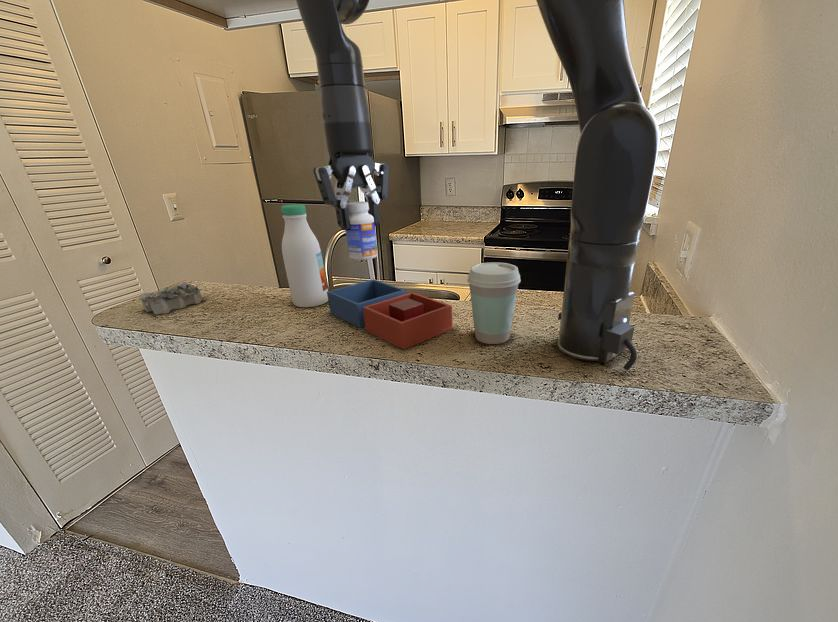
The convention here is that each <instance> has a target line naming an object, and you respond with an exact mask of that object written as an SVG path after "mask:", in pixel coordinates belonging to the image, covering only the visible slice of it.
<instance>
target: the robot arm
mask: <svg viewBox="0 0 838 622" xmlns="http://www.w3.org/2000/svg"><path fill="white" fill-rule="evenodd" d="M535 1H536V3H537V4H536V5H537V8H538V11H539V14H540V16H541V19H542V21H543V25H544V27H545V29H546V31H547V34H548V37H549V39H550V40H551V44H552V45H553V48H554V51H555V53H556V55H557V57H558V59H559V62H560V63H561V66H562V68H563V70H564V72H565V75H566V78H567V80H568V83H569V86H570V88H571V93H572V96H573V100H574V101H573V102H574V105H575V111H576V115H577V120H578V126H579V134H580V136H579V139H578V142H577V146H576V147H577V148H576V155H575V165H574V172H573V185H572V194H571V195H572V196H571V205H570V230H569V231H570V232H569V240H568V250H567V259H566V267H565V277H564V283H563V284H564V286H563V295H562V303H561V311H560V312H559V313H558V315H557V316H558V317H557V321H560V323H559V331H558V339H557V345H556V346H557V348H558V350H559V351H560V352H561V353H563V354H564V355H566V356H568V357H570V358H573V359H578V360H581V361H588V362H589V361H590V362H599V363H602V364H607V363H608V362H609V361H611V360H612V359H614V358H616V357H617V356H618V355H620V354H621V353H623V352H624V351H625V350H626V349H628V351H629V353H630V358H629V359H628V361H627V362H626V363H625V364H624V365H623V369H624V370H625V371H630V369H631V368H632V366H633V365H634V364H635V363H636V361H637V359H638V353H637V350H636V348H635V346H634V344H633V343H632V342H633V336H634V331H635V325H632V324H630V321H631V316H632V310H633V306H634V301H635V295H636V294H635V292H634V291H631V286H632V282H633V281H632V280H633V276H634V270H635V265H636V261H637V254H638V250H639V243H640V239H641V235H642V229H643V225H644V223H645V222H644V221H645V220H646V219H645V218H646V214H647V209H648V205H649V198H650V194H651V189H652V184H653V179H654V174H655V168H656V165H657V164H656V163H657V159H658V152H659V148H660V137H661V136H660V128H659V124H658V121H657V119H656V117H655V115H654V114H653V113H652V112H651V111H650V110H649V109H648V108H647V107H646V104H645V101H644V98H643V96H642V93H641V90H640V87H639V84H638V80H637V77H636V73H635V71H634V67H633V63H632V60H631V55H630V51H629V42H628V34H627V33H628V32H627V23H626V21H627V20H626V7H625V0H535ZM295 2H296V5H297V9H298V11H299V15H300V17H301V20H302V23H303V26H304V29H305V31H306V34H307V38H308V40H309V43H310V46H311V48H312V51H313V53H314V57H315V62H316V70H317V76H318V82H319V88H320V89H319V91H320V107H321V116H322V121H323V127H324V128H323V129H324V136H325V142H326V147H327V148H326V149H327V153H328V155H329V161H328V165H325V166H321V167H320V166H315V167H313V170H312V172H313V175H314V178H315V181H316V183H317V186H318V190H319V193H320V196H321V199H322V202H323V204H325V205H327V206H331V207H333V208H334V210H335V215H336V221H337V225H338V227H339V228H340V229H341V230H342V231H344V232H346V231H347V230H350V221H349V214H348V208H346V206H347V203H348V201H349V200H348V199H349V196H350V195H351V193H352V189H356V188H359V190H360V191H361V192H362V193H363V195H364V197H365V199H366V202H368V205H369V210H368V214H370V215H372V216H373V217H374V224H375V227H377V226H379V225H380V224H379V223H380V221H381V214H380V202H382V201H383V200H387V199H388V196H389V195H388V193H389V175H390V166H389V164H388V163H378V162H376V161H375V159H374V158H373V151H374V145H373V136H372V126H371V117H370V116H371V115H370V107H369V106H370V105H369V101H368V95H367V92H366V91H367V90H366V83H365V75H364V72H365V71H364V64H363V58H362V53H361V52H362V51H361V49H360V48H359V46H358V45H357V43H356V42H354V41H353V40H351V38H349V37H348V36H347V34H346V33H345V31H344V28H343V25H351V24H353V23H355V22H356V21H357V20H359V19H360V18H361V17H362V16H363V14H364V13H365V11H366V9H367V8H368V5H369V3H370V0H295ZM373 174H374V176H375V178H374V179H375V181H374V180H373V177H372V176H373ZM332 175H333V177H334V178H335V185H334V188H333V185H332V182H331V179H332Z"/></svg>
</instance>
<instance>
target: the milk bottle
mask: <svg viewBox="0 0 838 622" xmlns="http://www.w3.org/2000/svg"><path fill="white" fill-rule="evenodd" d="M280 212H281V215H282V219H283V220H284V229H283V230H284V231H283V234H282V240H281V253H282V259H283V264H284V269H285V274H286V278H287V283H288V287H289V292H290V297H291V300H292V304H293V305H294V306H296V307H299V308H313V307H314V308H315V307H318V306H321V305H324V304H326V303H328V296H327V291H329V287H328V281H327V277H326V270H325V266H324V260H323V255H322V250H321V246H320V243H319V241H318V239H317V236H316V235H315V234H314V232H313V231H312V229H311V227H310V226H309V222H308V221H307V209H306V205H305V204H302V203H294V204H285V205H282V206H280Z"/></svg>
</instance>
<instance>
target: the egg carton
mask: <svg viewBox="0 0 838 622" xmlns="http://www.w3.org/2000/svg"><path fill="white" fill-rule="evenodd" d="M201 291H203V288H199V287H198V286H197V285H196V286H195V285H193V284H191V283H188V282H186V281H183V282H181V283H180V284H177V285H176V286H175V285H174V286H171V287H165V288H164V289H162V290H157V291H154V292H145V293H143V294H141V295H140V296H139V298H138V301H141V303H142V306H143V308H144V310H145V312H147V313H150V312H153V314H154V315H160V314H161V315H163V314H168V313H169V314H170V313H171V311H173V310H177V309H179V310H180V309H184V308H187V306H189V305H197V304H200V303H201V302H202V301H203V296H202V294H201Z"/></svg>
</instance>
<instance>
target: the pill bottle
mask: <svg viewBox="0 0 838 622" xmlns="http://www.w3.org/2000/svg"><path fill="white" fill-rule="evenodd" d="M368 204H369V203H368V201H350V202H347V206H346V208H348V214H349V221H350V230H347V231H345V237H346V244H347V250H348V251H347V252H348V257H349V258H350V259H351V260H354V261H367V260H372V259H376V258H378V256H379V253H378V252H379V249H378V243H377V235H376V233H377V232H376V226H375V224H374V217H373V216H372V215H370V214H368V210H369V205H368Z"/></svg>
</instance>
